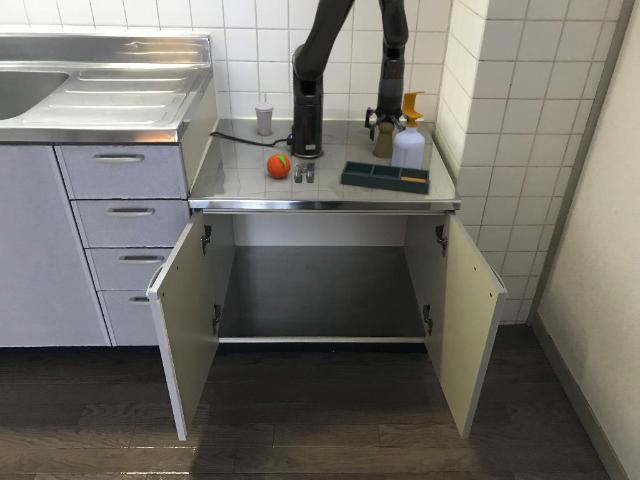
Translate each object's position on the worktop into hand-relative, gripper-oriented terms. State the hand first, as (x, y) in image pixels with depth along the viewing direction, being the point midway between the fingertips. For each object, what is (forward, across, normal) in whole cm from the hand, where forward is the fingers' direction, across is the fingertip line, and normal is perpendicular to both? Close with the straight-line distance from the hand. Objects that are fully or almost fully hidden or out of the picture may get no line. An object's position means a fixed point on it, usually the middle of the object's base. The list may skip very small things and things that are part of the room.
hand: (385, 141), depth 161 cm
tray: (+4, +2, -20) cm, 21 cm away
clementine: (+4, -29, -25) cm, 38 cm away
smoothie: (+4, -42, +6) cm, 43 cm away
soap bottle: (+4, +7, -11) cm, 14 cm away
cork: (+4, 0, 0) cm, 4 cm away
